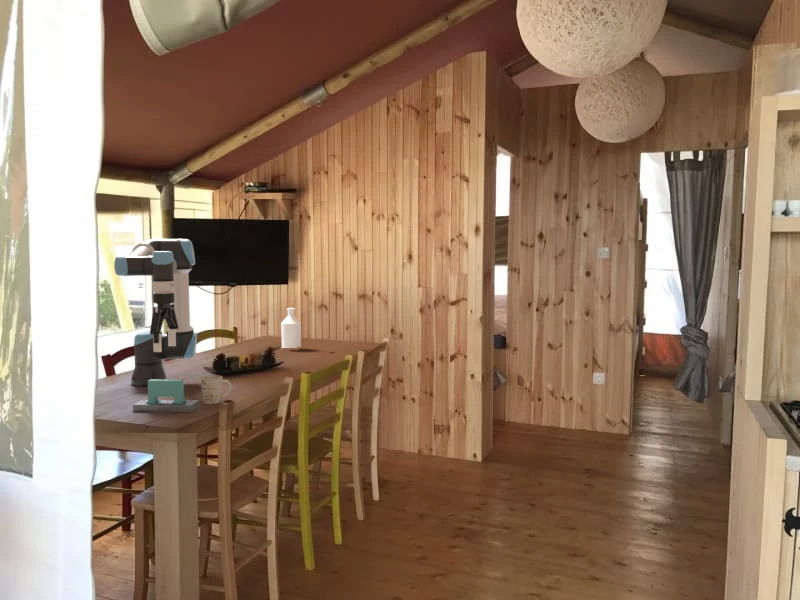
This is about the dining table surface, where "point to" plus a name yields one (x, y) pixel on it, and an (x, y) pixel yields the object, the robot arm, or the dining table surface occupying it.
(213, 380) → the mug
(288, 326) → the bottle
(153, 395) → the panel
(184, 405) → the block
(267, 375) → the dining table surface
